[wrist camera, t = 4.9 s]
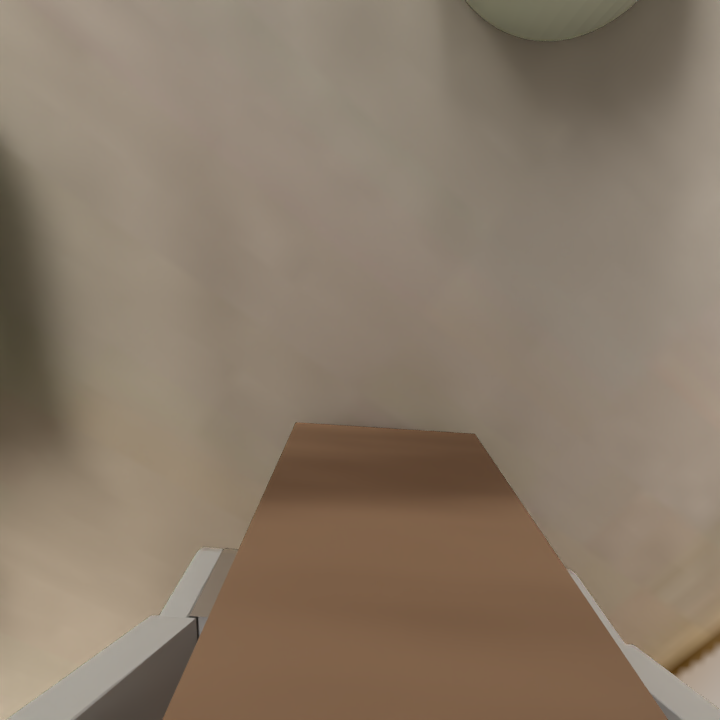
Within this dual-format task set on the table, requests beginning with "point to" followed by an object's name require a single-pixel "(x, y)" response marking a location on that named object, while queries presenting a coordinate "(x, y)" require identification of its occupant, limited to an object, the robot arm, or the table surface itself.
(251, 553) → the walnut block
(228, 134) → the table surface
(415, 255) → the table surface
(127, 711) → the robot arm
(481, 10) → the sage rounded block
